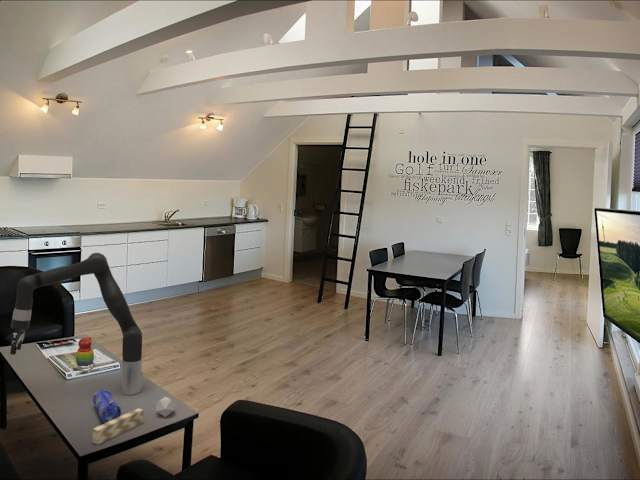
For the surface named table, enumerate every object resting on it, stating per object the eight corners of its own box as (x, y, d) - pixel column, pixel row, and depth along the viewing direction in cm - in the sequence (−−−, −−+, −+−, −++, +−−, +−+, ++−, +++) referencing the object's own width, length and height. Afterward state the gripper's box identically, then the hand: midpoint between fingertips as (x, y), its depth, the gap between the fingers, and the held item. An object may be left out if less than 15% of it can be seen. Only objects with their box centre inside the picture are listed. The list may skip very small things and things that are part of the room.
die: (162, 410, 247) (151, 398, 242) (178, 402, 247) (168, 390, 242) (162, 423, 240) (151, 411, 235) (178, 415, 241) (168, 402, 235)
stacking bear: (90, 363, 298) (91, 333, 296) (97, 368, 291) (98, 338, 289) (71, 367, 290) (71, 337, 288) (78, 372, 283) (78, 341, 281)
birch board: (138, 420, 234) (138, 408, 233) (143, 422, 233) (143, 409, 232) (92, 442, 213) (92, 428, 212) (97, 444, 212) (97, 430, 211)
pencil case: (121, 423, 231) (122, 402, 230) (101, 427, 226) (101, 406, 225) (110, 403, 249) (111, 385, 248) (91, 407, 244) (91, 388, 243)
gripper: (26, 322, 236) (20, 356, 236) (33, 316, 250) (28, 348, 250) (8, 320, 234) (1, 355, 234) (16, 314, 247) (10, 347, 247)
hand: (15, 351), depth 242 cm, fingers open, 8 cm apart
